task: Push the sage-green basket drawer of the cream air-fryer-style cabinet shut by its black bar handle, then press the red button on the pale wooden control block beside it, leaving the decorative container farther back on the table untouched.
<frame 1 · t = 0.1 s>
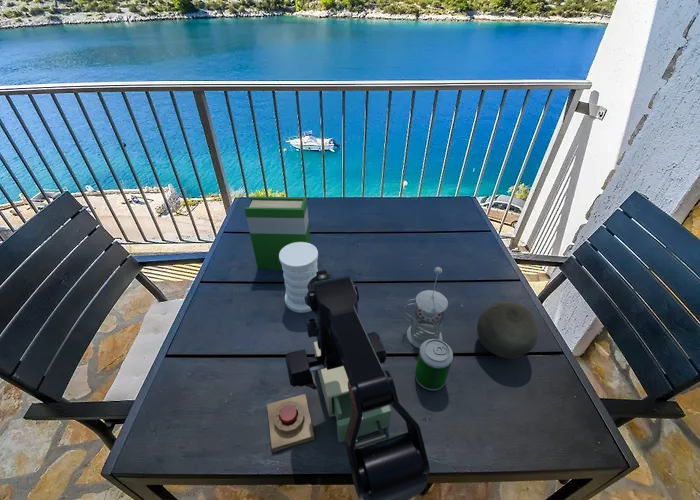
hand: (337, 381, 72), 13 cm above the table, tool pointing down, fingers open, 9 cm apart
soda can: (429, 379, 87), on the table
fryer: (347, 382, 86), on the table
french press: (421, 334, 98), on the table
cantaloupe: (498, 348, 94), on the table
decorative container: (303, 299, 108), on the table
red button: (288, 414, 76), point 4 cm above the table, slide at 0.1 cm
hardback book: (285, 262, 122), on the table
drawer: (358, 406, 76), point 5 cm above the table, slide at 5.0 cm
control block: (290, 423, 78), on the table
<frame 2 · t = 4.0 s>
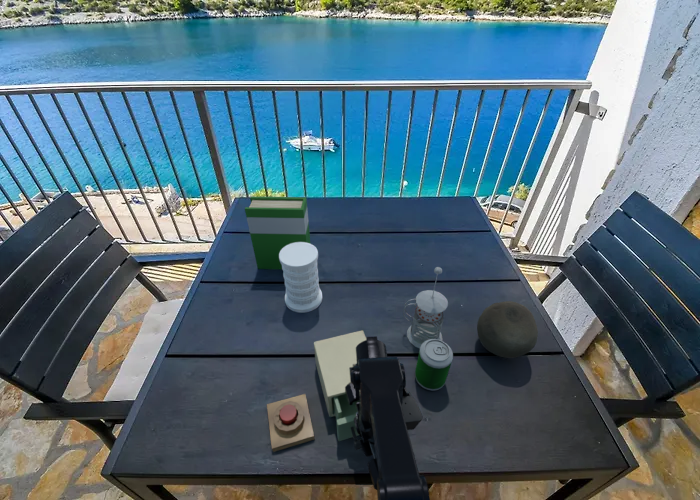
hand: (372, 447, 69), 5 cm above the table, tool pointing down, fingers closed
drawer: (357, 405, 77), point 5 cm above the table, slide at 4.7 cm, touching gripper
everything else where it was.
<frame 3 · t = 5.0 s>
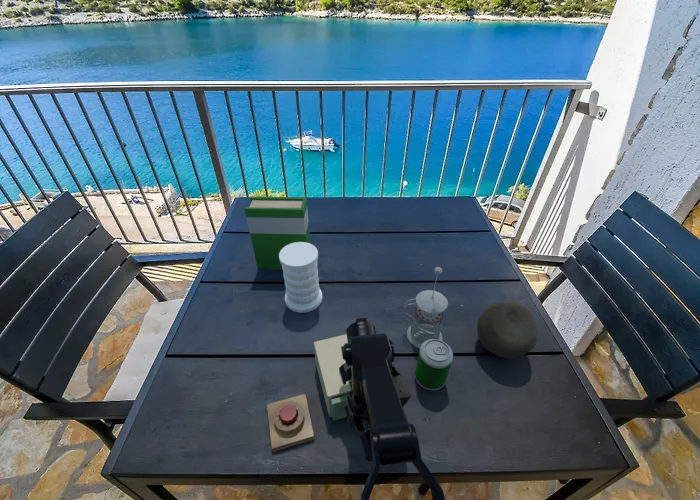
hand: (365, 425, 72), 5 cm above the table, tool pointing down, fingers closed
drawer: (351, 387, 80), point 5 cm above the table, slide at 0.2 cm, touching gripper
everything else where it was.
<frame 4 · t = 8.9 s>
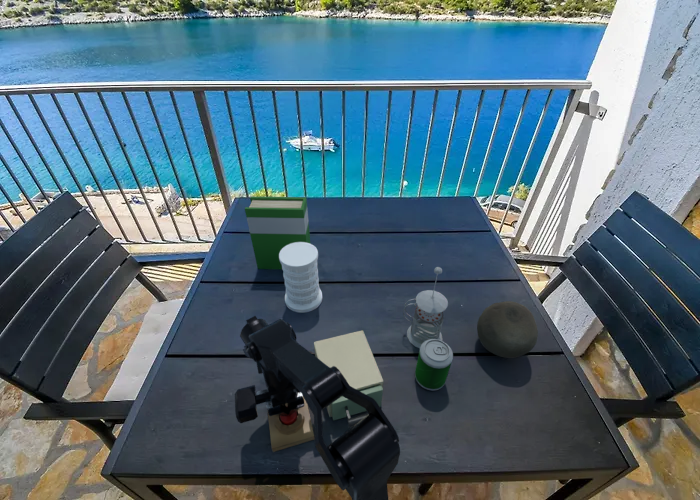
hand: (288, 413, 75), 4 cm above the table, tool pointing down, fingers closed, pressing on red button
red button: (288, 415, 76), point 3 cm above the table, slide at -0.5 cm, touching gripper
drawer: (351, 387, 80), point 5 cm above the table, slide at 0.2 cm
everything else where it was.
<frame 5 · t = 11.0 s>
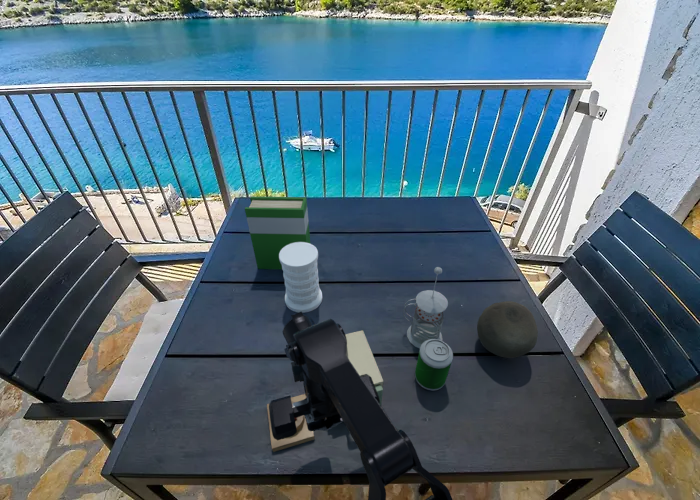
hand: (326, 427, 66), 12 cm above the table, tool pointing down, fingers closed
red button: (288, 414, 76), point 4 cm above the table, slide at 0.1 cm
everything else where it was.
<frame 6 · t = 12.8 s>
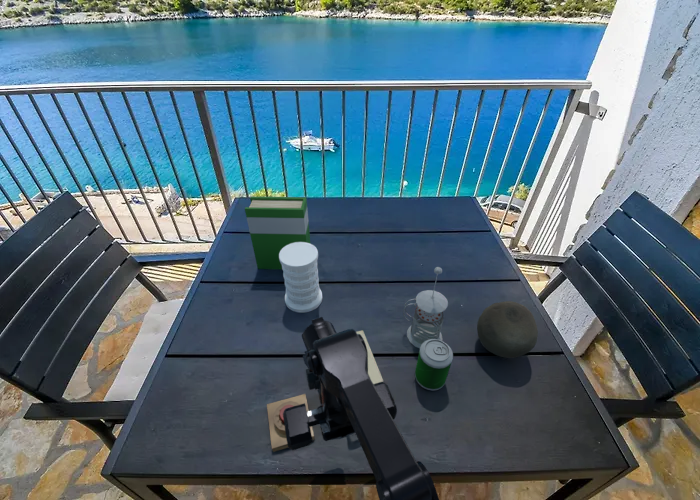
hand: (341, 435, 64), 12 cm above the table, tool pointing down, fingers closed
nothing on the table moved.
at the end: drawer slide at 0.2 cm; red button pushed in 1.1 cm at the most during the clip, back to where it started at the end; decorative container moved 0.2 cm from its start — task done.
